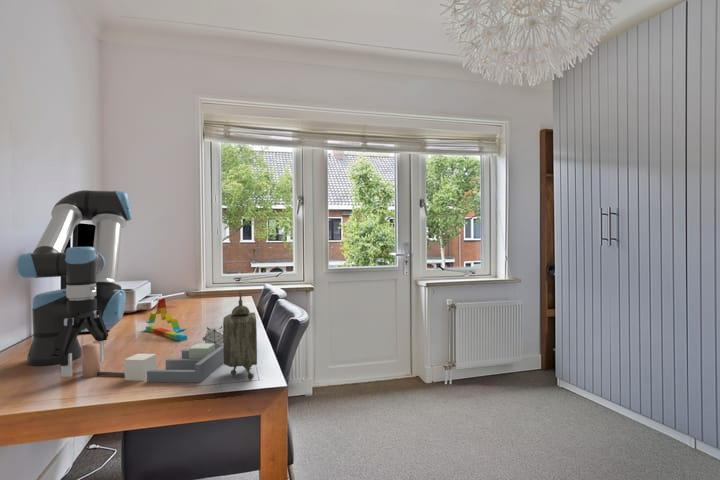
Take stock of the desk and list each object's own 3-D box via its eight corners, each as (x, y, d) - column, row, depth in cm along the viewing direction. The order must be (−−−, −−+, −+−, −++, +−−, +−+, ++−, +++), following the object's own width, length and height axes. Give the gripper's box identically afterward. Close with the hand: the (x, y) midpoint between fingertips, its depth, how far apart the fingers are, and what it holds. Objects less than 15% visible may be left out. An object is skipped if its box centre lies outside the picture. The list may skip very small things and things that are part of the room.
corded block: (77, 378, 124) (76, 347, 124) (92, 371, 130) (91, 342, 130) (144, 380, 122) (143, 349, 122) (156, 373, 128) (156, 344, 128)
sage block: (189, 367, 134) (188, 348, 134) (197, 361, 140) (197, 343, 140) (207, 367, 134) (207, 348, 133) (215, 361, 140) (215, 343, 139)
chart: (187, 340, 169) (187, 302, 169) (180, 341, 166) (179, 303, 166) (153, 329, 188) (152, 295, 188) (145, 330, 186) (145, 296, 186)
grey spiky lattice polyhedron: (217, 360, 153) (217, 342, 147) (197, 350, 155) (196, 332, 149) (232, 342, 160) (232, 325, 154) (212, 334, 162) (212, 316, 156)
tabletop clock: (257, 380, 121) (256, 293, 120) (223, 384, 118) (222, 294, 118) (254, 365, 134) (253, 286, 134) (225, 368, 132) (223, 288, 131)
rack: (147, 381, 121) (146, 364, 121) (183, 358, 143) (183, 343, 143) (200, 382, 120) (200, 364, 120) (229, 358, 142) (228, 343, 142)
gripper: (62, 305, 115) (64, 383, 115) (119, 292, 140) (121, 356, 140) (36, 305, 115) (38, 383, 116) (97, 292, 140) (99, 356, 140)
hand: (83, 368), depth 128 cm, fingers open, 13 cm apart
